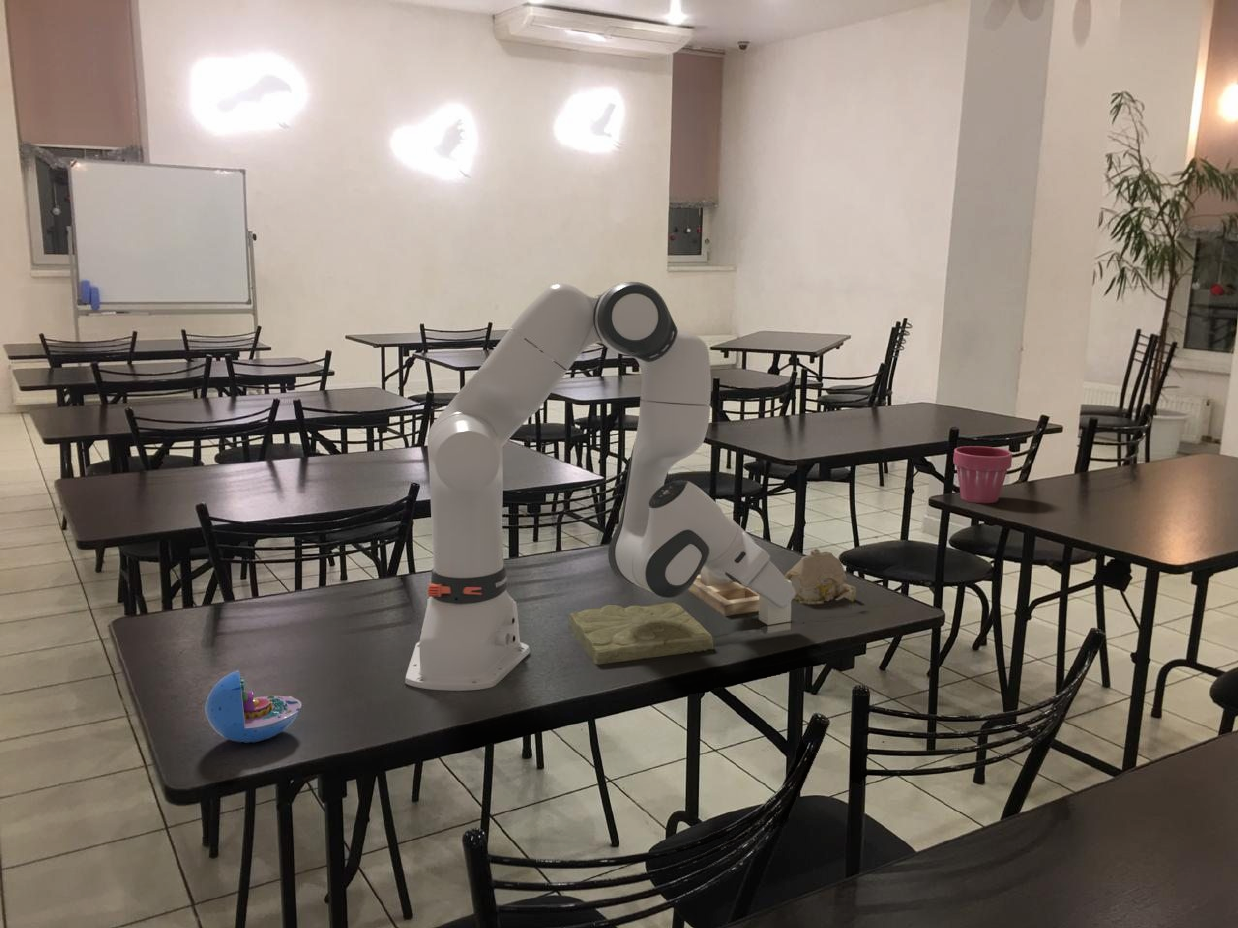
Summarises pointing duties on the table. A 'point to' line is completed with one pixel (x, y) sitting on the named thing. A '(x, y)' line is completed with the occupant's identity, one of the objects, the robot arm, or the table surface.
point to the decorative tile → (637, 632)
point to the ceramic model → (819, 579)
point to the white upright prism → (711, 578)
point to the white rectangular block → (774, 615)
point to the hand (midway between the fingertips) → (778, 600)
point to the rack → (727, 597)
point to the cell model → (247, 711)
